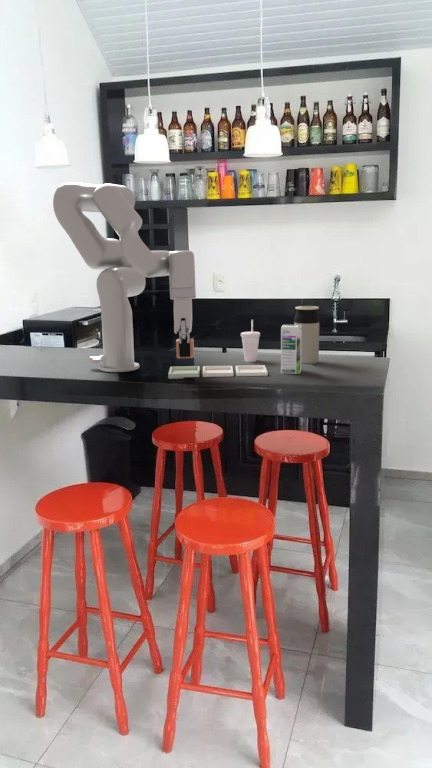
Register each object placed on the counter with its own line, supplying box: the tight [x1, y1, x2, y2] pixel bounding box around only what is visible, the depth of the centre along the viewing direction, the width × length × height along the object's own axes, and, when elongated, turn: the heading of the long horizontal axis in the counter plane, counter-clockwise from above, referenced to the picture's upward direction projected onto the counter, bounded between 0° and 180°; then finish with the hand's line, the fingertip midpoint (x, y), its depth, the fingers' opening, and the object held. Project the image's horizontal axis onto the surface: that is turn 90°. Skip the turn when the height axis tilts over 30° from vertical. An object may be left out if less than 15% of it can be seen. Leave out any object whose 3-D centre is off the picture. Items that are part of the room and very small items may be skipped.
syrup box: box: [280, 324, 302, 375], centre depth 193 cm, size 6×6×14 cm
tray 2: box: [202, 365, 235, 378], centre depth 194 cm, size 9×11×2 cm
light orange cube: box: [175, 338, 195, 359], centre depth 193 cm, size 5×5×5 cm
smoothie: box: [240, 319, 261, 363], centre depth 212 cm, size 6×6×14 cm
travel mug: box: [293, 305, 320, 365], centre depth 209 cm, size 8×8×18 cm
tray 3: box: [234, 364, 269, 377], centre depth 194 cm, size 9×11×2 cm
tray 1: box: [167, 365, 201, 380], centre depth 194 cm, size 9×11×2 cm
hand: (185, 354), depth 193 cm, fingers closed on light orange cube, 5 cm apart
